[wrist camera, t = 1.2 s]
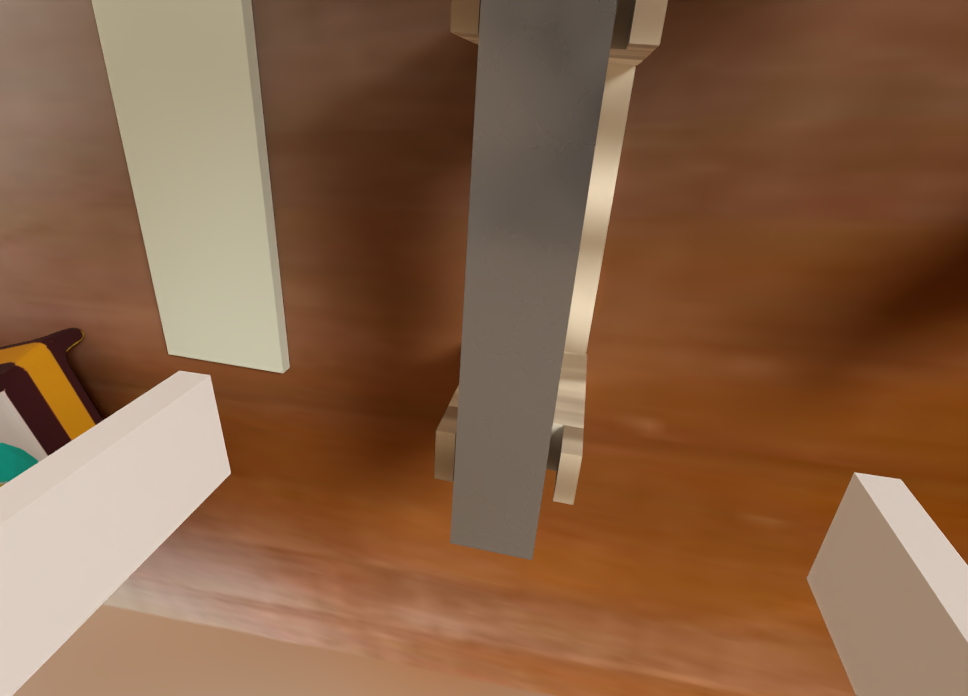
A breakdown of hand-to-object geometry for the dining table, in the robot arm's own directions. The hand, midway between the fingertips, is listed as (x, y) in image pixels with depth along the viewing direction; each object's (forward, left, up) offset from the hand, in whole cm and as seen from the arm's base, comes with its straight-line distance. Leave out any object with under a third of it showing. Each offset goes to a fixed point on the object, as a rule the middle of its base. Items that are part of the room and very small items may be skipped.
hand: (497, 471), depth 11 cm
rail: (0, -1, -15) cm, 15 cm away
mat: (0, -25, -25) cm, 35 cm away
